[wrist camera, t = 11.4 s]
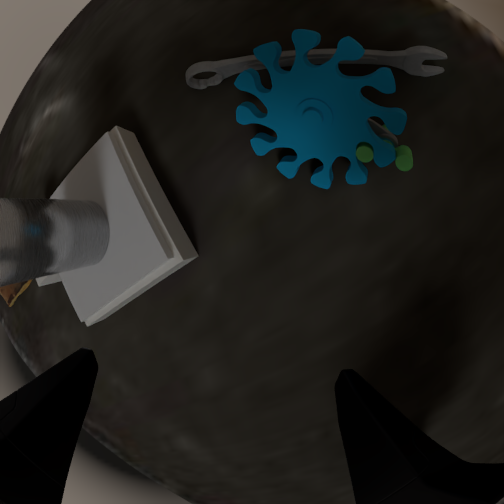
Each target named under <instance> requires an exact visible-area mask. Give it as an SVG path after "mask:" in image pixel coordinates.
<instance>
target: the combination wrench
mask: <svg viewBox="0 0 504 504" xmlns="http://www.w3.org/2000/svg"><path fill="white" fill-rule="evenodd" d="M336 50H337V49H311V50H309V52H308V53H307V58H308V60H309V62H310V63H312V64H324V63H325V62H327V61H329V60H330V59H331V58H332V57H333V55H334V54H335V52H336ZM364 50H365V53H364V55H363V56H362V57H361V58H360V59H358V60H355V61H349V60H342V61H340V62H339V64H377V65H389V66H393V67H397V68H400V69H403V70H405V71H406V72H407V73H409V74H411V75H417V76H424V77H428V76H433V75H437V74H440V73H443V72H444V68H442V67H438V66H430V65H422V62H423V61H424V60H436V59H447V55H446V54H445V53H444V52H442V51H439V50H437V49H434V48H432V47H428V46H414V47H410V48H408V49H406V50H403V51H380V50H366V49H364ZM295 56H296V50H293V51H282V53H281V56H280V58H279V66H280V67H286V66H293V64H294V61H295ZM249 68H252V69H254V70H261V69H267V68H266V67H265V65H264V64H263V63H262V62H260V61H259V60H258V59H257V58H256V57H255V55H250V56H244V57H238V58H232V59H226V60H220V61H215V62H212V61H203V62H198V63H195V64H193V65H192V66H190V67H189V68H188V69H187V71H186V74H185V75H186V83H187V84H188V85H189V86H190V87H192V88H195V89H205V88H207V86H212V85H218V84H219V83H220V82H221V81H222V80H223V79H225V78H227V77H229V76H232V75H234V74H237V73H241V72H243V71H244V70H247V69H249ZM205 71H212V72H216V73H217V74H216V75H215V76H213V77H211V78H209V79H194V78H193V76H194V75H195V74H197V73H200V72H205Z"/></svg>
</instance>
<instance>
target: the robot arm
mask: <svg viewBox="0 0 504 504" xmlns="http://www.w3.org/2000/svg"><path fill="white" fill-rule="evenodd" d="M97 372H98V363H97V361H96V358H95V355H94V352H93V351H92V350H91V349H88V348H84V347H83V348H80V349H79V350H77V351H76V352H74V353H73V354H71V355H70V356H68V357H67V358H65V359H63V360H62V361H60V362H59V363H57V364H56V365H54V366H53V367H51V368H50V369H48V370H47V371H45V372H44V373H42V374H41V375H39V376H38V377H36V378H35V379H33V380H32V381H30V382H29V383H27V384H26V385H24V386H23V387H21V388H20V389H18V390H17V391H15V392H13V393H12V394H10V395H9V396H7V397H6V398H4V399H3V400H1V401H0V504H61V503H62V498H63V493H64V488H65V484H66V480H67V476H68V472H69V468H70V464H71V461H72V457H73V454H74V450H75V447H76V443H77V440H78V436H79V434H80V431H81V428H82V424H83V421H84V418H85V416H86V413H87V410H88V407H89V404H90V400H91V396H92V392H93V388H94V384H95V380H96V376H97ZM335 396H336V405H337V413H338V422H339V427H340V432H341V436H342V440H343V445H344V449H345V454H346V458H347V463H348V467H349V472H350V477H351V481H352V486H353V491H354V496H355V501H356V504H504V463H497V464H485V463H470V462H466V461H464V460H462V459H460V458H458V457H457V456H455V455H454V454H452V453H451V452H449V451H448V450H447V449H445V448H444V447H442V446H441V445H439V444H438V443H436V442H435V441H434V440H432V439H431V438H430V437H429V436H427V435H426V434H425V433H424V432H422V431H421V430H420V429H419V428H418V427H417V426H414V424H413V423H412V422H411V421H410V420H409V419H408V418H406V417H405V416H404V415H403V414H402V413H401V412H400V411H399V410H398V409H396V408H395V407H394V406H393V405H392V404H391V403H390V402H389V401H387V400H386V399H385V398H384V397H383V396H382V395H381V394H380V393H379V392H377V391H376V390H375V389H374V388H373V387H372V386H371V385H370V384H369V383H368V382H366V381H365V380H364V379H363V378H362V377H361V376H360V375H359V374H358V373H357V372H355V371H354V370H353V369H344V370H342V371H341V372H340V374H339V377H338V379H337V381H336V383H335Z"/></svg>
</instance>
